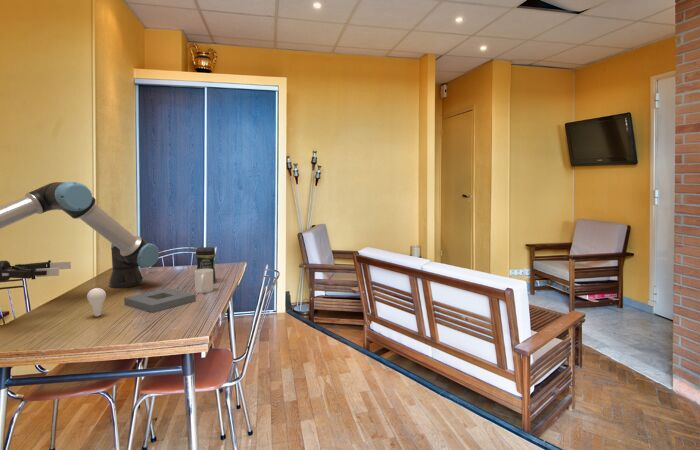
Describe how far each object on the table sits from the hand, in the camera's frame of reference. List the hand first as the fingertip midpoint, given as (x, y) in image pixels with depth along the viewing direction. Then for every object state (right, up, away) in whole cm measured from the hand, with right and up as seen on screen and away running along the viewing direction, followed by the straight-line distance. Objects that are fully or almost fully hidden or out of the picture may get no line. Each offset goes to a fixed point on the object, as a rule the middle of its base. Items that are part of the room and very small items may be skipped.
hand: (64, 268), depth 150 cm
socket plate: (+24, -17, +24) cm, 38 cm away
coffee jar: (+31, -14, +61) cm, 70 cm away
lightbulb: (+9, -19, +5) cm, 22 cm away
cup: (+36, -16, +42) cm, 58 cm away
